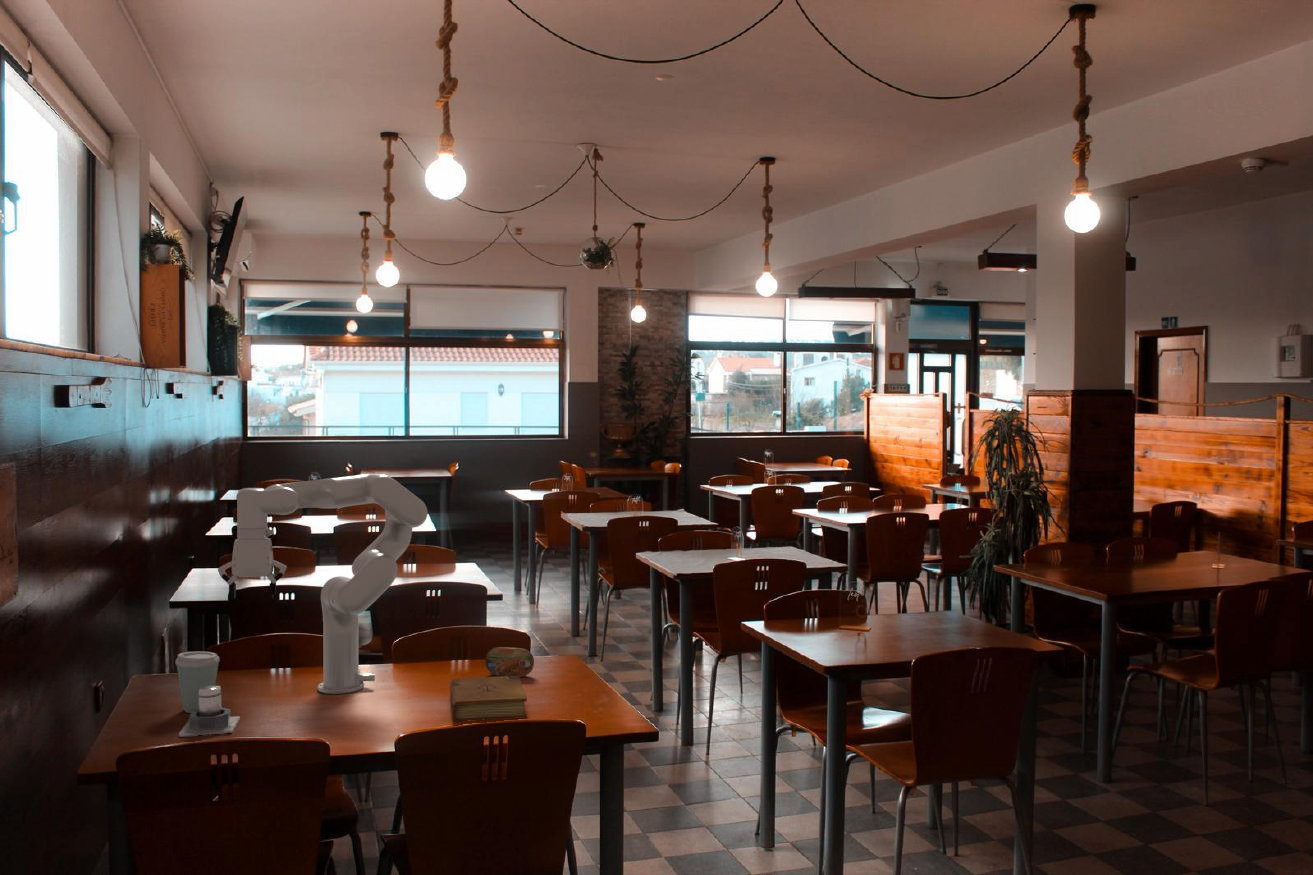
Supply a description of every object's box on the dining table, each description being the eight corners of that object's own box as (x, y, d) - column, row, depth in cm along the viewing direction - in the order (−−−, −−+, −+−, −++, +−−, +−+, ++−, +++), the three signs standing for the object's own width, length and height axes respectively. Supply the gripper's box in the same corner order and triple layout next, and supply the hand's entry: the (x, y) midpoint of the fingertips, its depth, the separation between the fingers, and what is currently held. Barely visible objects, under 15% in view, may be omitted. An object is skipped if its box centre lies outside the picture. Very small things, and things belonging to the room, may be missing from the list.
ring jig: (240, 719, 264) (240, 704, 264) (232, 733, 252) (232, 718, 252) (189, 722, 261) (189, 707, 261) (178, 737, 249) (178, 721, 249)
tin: (484, 674, 310) (484, 646, 310) (489, 672, 313) (489, 644, 313) (531, 678, 306) (531, 650, 305) (535, 676, 309) (535, 648, 308)
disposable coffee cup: (207, 702, 279) (207, 646, 279) (228, 709, 272) (227, 652, 272) (168, 710, 271) (167, 653, 271) (188, 718, 264) (187, 660, 264)
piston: (223, 720, 260) (222, 685, 259) (219, 726, 255) (218, 690, 254) (202, 722, 259) (201, 686, 258) (197, 728, 254) (196, 691, 253)
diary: (450, 699, 285) (450, 678, 285) (518, 696, 289) (518, 675, 289) (452, 723, 263) (452, 701, 263) (526, 719, 267) (526, 697, 267)
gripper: (288, 532, 283) (288, 594, 284) (220, 533, 279) (220, 596, 280) (284, 535, 276) (285, 599, 276) (215, 536, 272) (215, 601, 272)
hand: (252, 598), depth 278 cm, fingers open, 9 cm apart
